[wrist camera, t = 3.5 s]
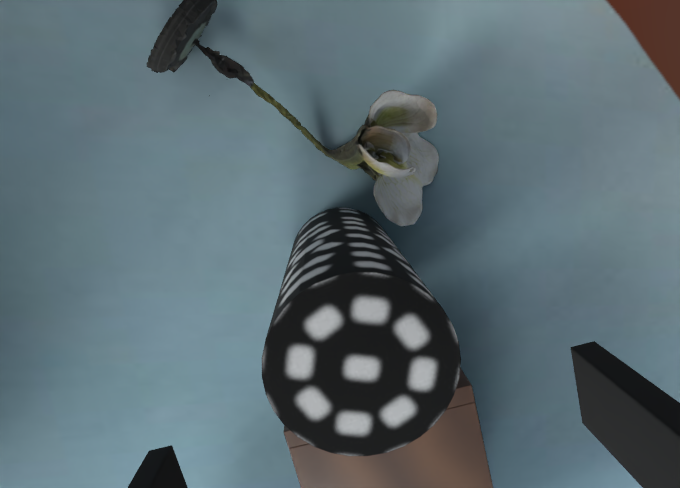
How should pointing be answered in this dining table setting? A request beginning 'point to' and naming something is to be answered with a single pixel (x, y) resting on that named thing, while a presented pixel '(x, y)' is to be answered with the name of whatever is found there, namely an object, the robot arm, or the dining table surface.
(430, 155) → the artificial flower
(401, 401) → the spotted tube
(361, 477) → the rack
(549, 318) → the dining table surface
